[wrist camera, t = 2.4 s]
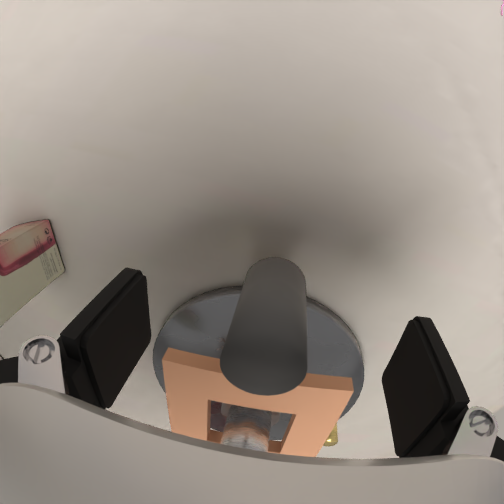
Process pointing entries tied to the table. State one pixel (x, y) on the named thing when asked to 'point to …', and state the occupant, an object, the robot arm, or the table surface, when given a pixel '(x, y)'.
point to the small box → (26, 265)
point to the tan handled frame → (260, 367)
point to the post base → (211, 344)
